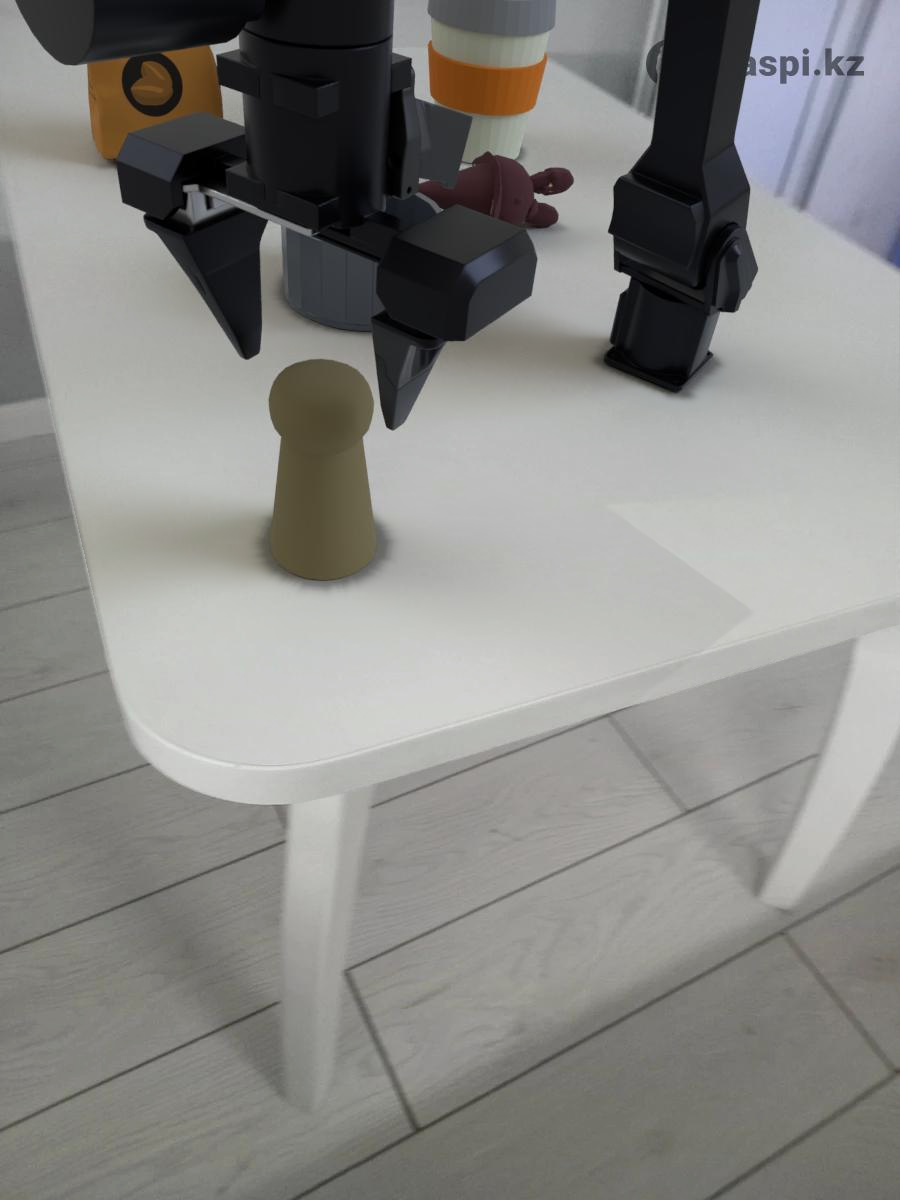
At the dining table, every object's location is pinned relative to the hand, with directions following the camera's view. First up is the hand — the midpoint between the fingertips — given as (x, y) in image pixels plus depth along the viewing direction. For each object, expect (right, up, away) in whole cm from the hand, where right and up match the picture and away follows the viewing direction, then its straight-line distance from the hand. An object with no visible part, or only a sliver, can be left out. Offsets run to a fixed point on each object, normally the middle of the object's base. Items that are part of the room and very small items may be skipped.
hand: (320, 389), depth 45 cm
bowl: (-1, +14, +28) cm, 32 cm away
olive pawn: (-1, -7, +7) cm, 10 cm away
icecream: (+10, +23, +39) cm, 46 cm away
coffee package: (-22, +34, +45) cm, 60 cm away
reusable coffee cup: (+9, +38, +53) cm, 66 cm away
